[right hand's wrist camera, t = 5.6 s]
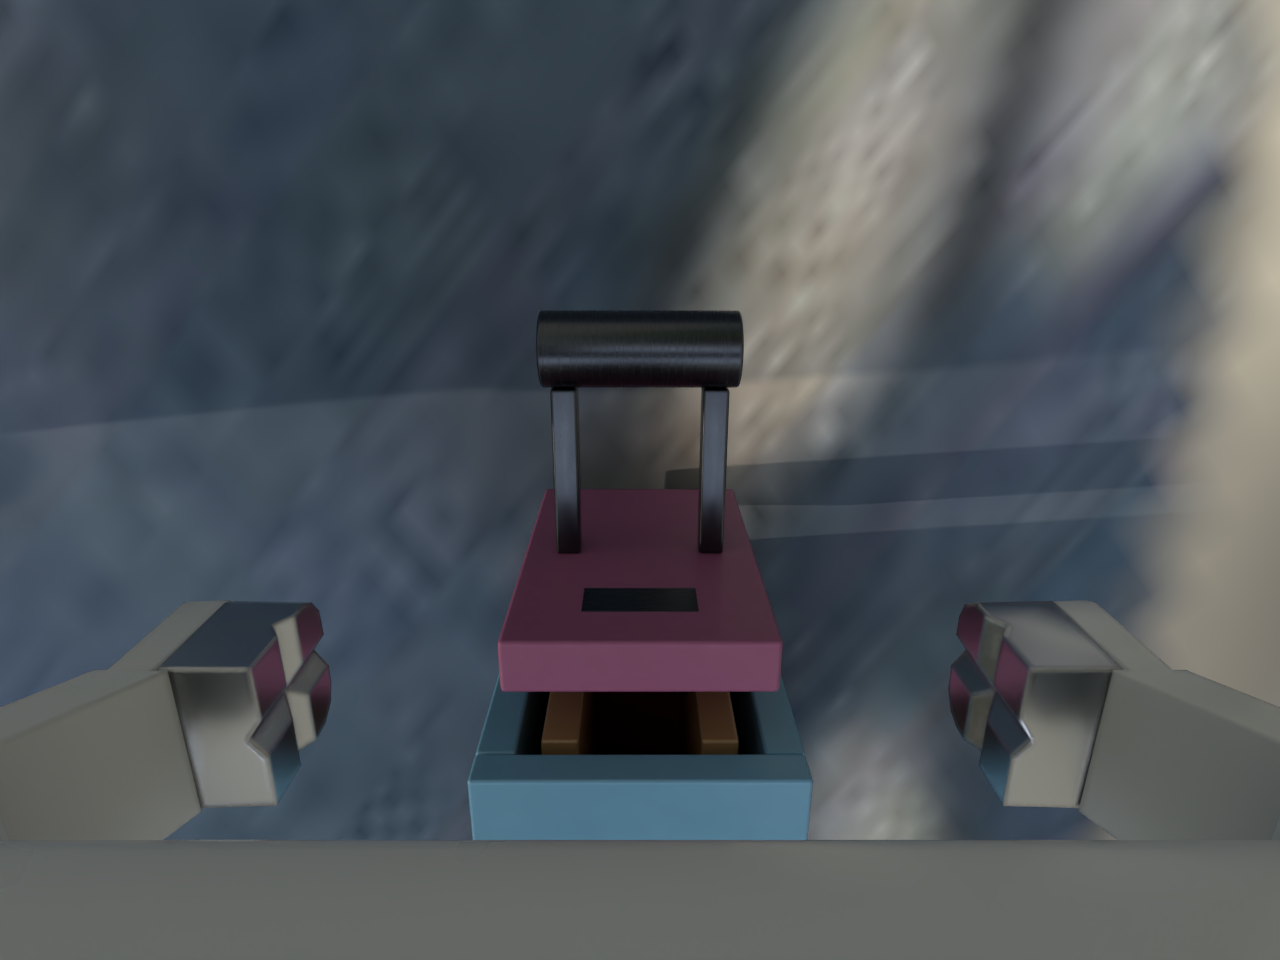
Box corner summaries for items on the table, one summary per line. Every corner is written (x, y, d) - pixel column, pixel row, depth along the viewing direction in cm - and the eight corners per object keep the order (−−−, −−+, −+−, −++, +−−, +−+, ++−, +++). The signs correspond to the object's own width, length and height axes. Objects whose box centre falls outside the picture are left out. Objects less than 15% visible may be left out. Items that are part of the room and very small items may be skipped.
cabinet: (532, 553, 25) (465, 781, 15) (745, 552, 25) (814, 780, 15) (552, 932, 31) (511, 1276, 21) (725, 932, 31) (767, 1275, 21)
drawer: (536, 289, 21) (475, 345, 13) (742, 289, 22) (805, 345, 13) (562, 879, 29) (532, 1147, 21) (716, 878, 29) (746, 1147, 21)
